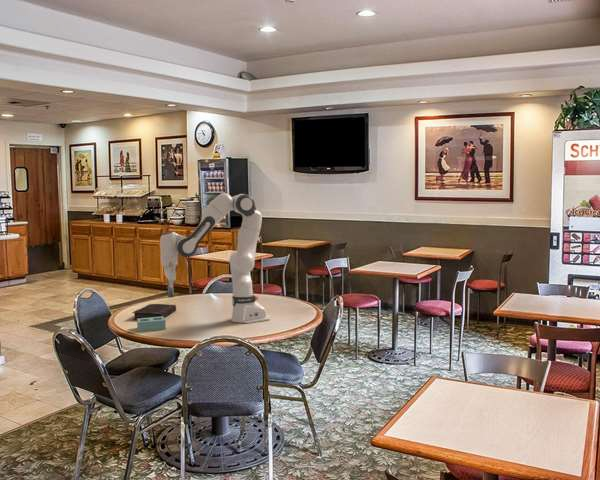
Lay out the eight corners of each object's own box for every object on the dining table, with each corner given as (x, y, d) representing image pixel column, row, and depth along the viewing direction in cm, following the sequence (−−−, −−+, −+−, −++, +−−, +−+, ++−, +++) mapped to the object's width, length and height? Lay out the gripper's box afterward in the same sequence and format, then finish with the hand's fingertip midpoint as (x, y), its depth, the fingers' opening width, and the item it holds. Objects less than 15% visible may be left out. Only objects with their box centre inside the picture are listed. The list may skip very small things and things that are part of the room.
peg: (173, 296, 315) (172, 274, 314) (174, 297, 313) (173, 275, 311) (167, 296, 314) (166, 274, 313) (168, 297, 312) (167, 275, 310)
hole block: (163, 325, 319) (163, 316, 319) (165, 329, 310) (165, 320, 309) (137, 327, 315) (137, 318, 314) (138, 331, 305) (138, 322, 305)
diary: (176, 312, 355) (176, 304, 355) (161, 321, 331) (161, 313, 330) (147, 311, 358) (147, 303, 357) (131, 320, 333) (130, 312, 332)
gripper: (177, 263, 303) (179, 289, 304) (172, 259, 322) (174, 283, 323) (165, 264, 301) (167, 290, 302) (161, 259, 320) (162, 284, 321)
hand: (170, 286), depth 313 cm, fingers closed on peg, 3 cm apart
